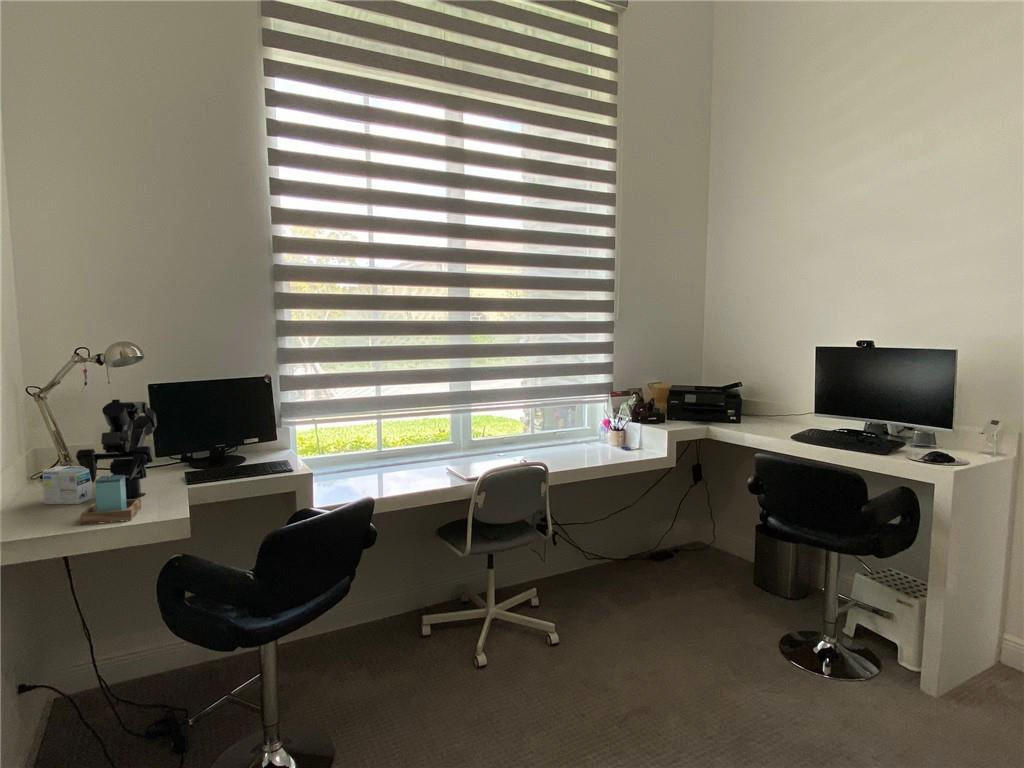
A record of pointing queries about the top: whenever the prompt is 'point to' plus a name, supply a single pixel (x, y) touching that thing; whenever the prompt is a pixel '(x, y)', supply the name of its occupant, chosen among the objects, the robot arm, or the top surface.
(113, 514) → the tray
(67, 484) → the light bulb box
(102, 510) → the light blue block
